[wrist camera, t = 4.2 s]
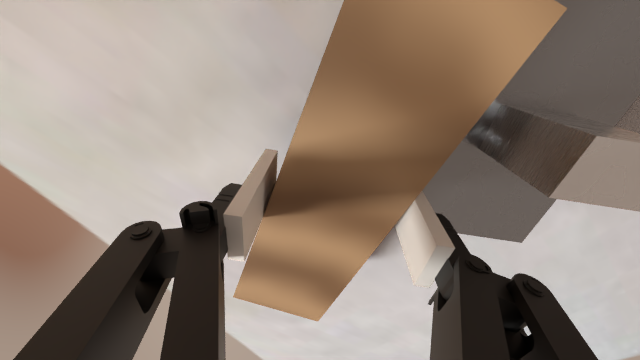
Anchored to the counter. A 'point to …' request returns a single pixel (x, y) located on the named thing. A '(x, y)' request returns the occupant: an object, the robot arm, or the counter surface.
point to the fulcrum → (552, 129)
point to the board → (380, 134)
